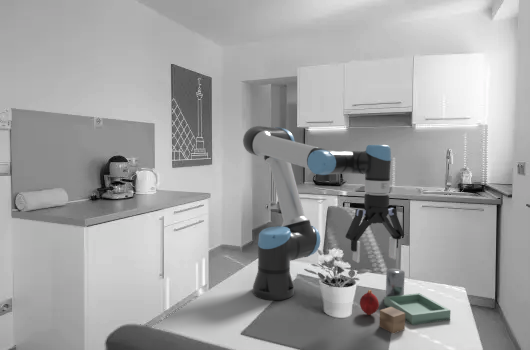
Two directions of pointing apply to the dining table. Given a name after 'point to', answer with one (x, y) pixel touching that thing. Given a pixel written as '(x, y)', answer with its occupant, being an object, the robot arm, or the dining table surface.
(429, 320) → the tray
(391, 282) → the metal can
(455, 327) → the dining table surface
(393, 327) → the walnut block
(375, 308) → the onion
